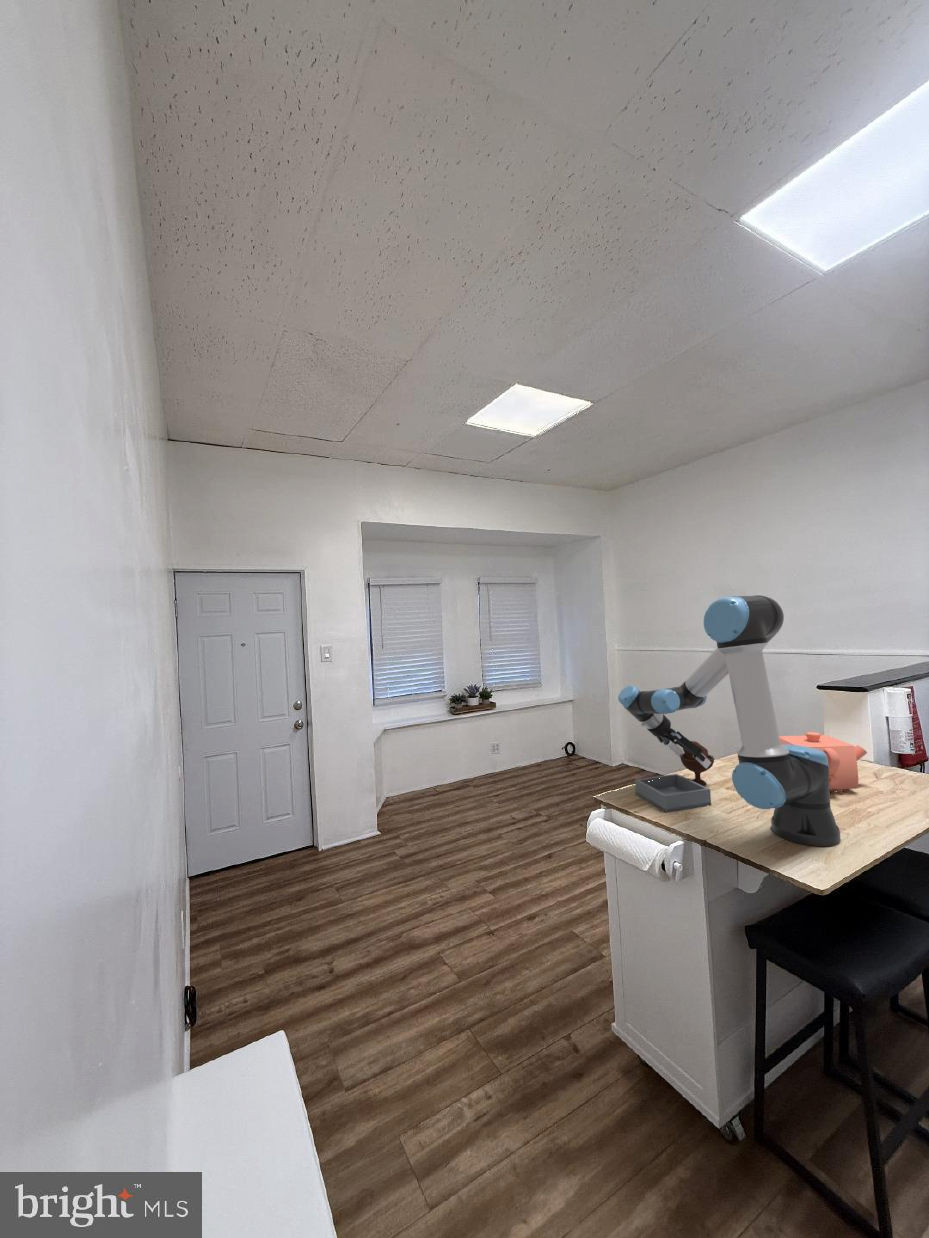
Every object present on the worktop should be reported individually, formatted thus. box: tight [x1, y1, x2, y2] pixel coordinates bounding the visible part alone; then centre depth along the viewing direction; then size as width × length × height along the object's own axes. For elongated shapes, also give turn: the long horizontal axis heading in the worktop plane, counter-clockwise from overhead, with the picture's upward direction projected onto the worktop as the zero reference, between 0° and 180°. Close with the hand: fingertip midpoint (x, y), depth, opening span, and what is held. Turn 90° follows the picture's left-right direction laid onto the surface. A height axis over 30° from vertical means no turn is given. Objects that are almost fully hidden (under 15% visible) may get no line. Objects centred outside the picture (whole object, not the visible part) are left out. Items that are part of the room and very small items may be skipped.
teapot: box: [779, 731, 868, 793], centre depth 161 cm, size 25×23×18 cm
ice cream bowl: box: [679, 740, 715, 787], centre depth 169 cm, size 11×11×15 cm
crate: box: [634, 773, 712, 814], centre depth 157 cm, size 16×16×5 cm
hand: (694, 759), depth 170 cm, fingers open, 13 cm apart
